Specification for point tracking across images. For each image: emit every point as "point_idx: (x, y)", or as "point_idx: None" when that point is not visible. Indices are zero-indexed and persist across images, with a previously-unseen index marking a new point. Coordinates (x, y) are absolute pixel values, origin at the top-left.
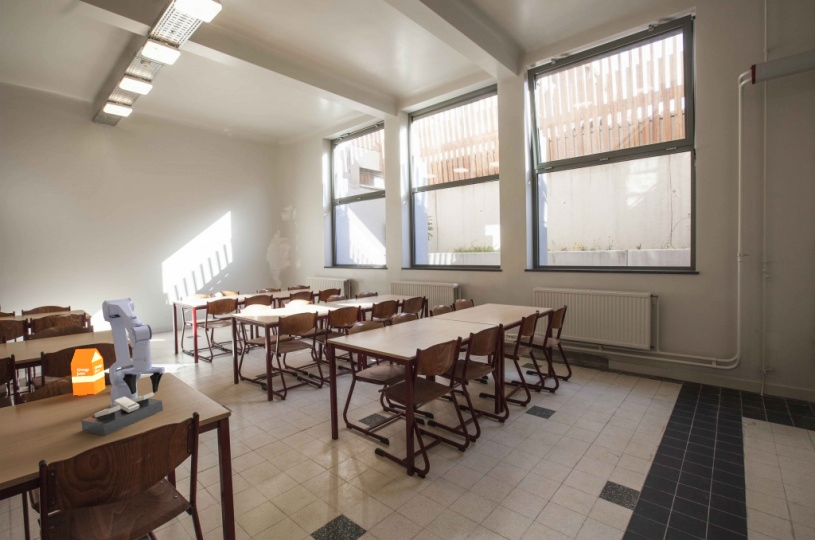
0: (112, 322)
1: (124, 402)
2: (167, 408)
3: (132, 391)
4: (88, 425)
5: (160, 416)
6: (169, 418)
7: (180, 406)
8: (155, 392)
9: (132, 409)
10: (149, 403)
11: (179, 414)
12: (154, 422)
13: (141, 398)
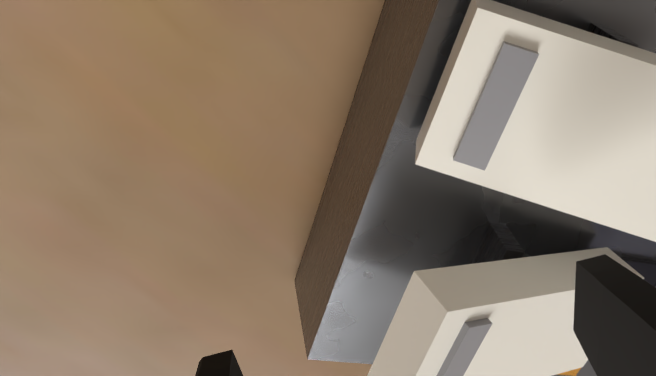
0: None
1: (643, 131)
2: (275, 313)
3: (611, 289)
4: None
5: (197, 164)
6: (36, 131)
7: (178, 358)
8: (200, 368)
9: (452, 58)
10: (396, 282)
11: (13, 225)
12: (131, 19)
13: (473, 282)
